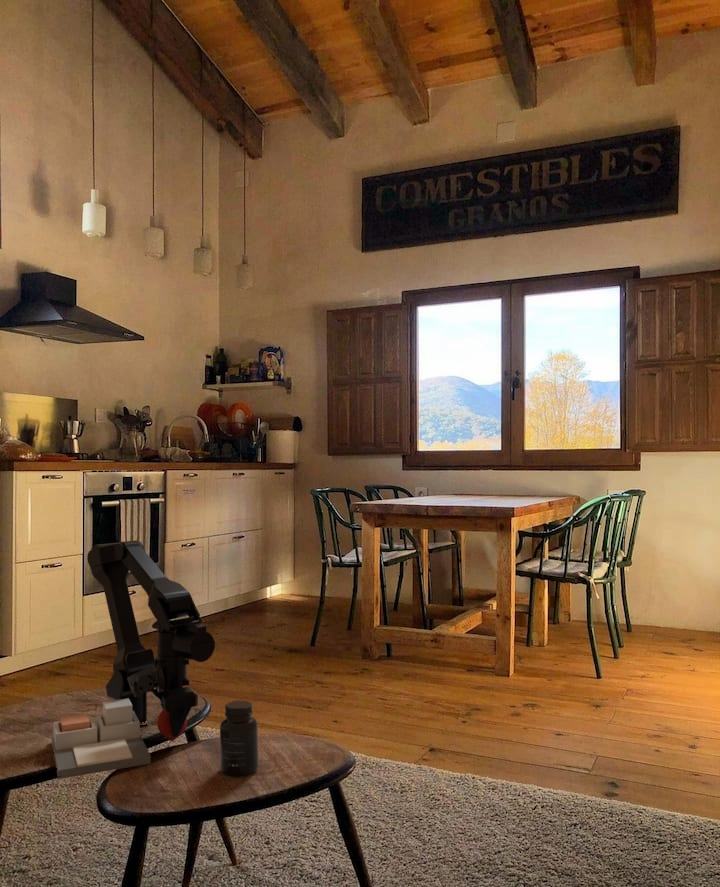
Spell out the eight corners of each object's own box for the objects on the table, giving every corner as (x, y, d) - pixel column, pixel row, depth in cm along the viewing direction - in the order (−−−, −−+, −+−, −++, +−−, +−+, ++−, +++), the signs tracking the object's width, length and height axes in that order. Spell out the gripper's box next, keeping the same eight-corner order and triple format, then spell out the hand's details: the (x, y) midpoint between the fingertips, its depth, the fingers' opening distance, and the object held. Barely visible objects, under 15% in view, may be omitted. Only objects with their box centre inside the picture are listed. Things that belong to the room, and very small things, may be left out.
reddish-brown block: (87, 733, 156) (87, 713, 156) (89, 742, 152) (89, 721, 152) (60, 737, 154) (60, 717, 154) (62, 746, 149) (62, 725, 149)
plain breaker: (128, 717, 159) (128, 698, 159) (132, 725, 155) (132, 705, 155) (102, 721, 157) (102, 701, 157) (106, 729, 153) (106, 708, 153)
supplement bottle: (227, 761, 146) (227, 697, 146) (262, 764, 145) (262, 699, 145) (214, 777, 139) (214, 709, 139) (251, 779, 138) (251, 711, 138)
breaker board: (134, 730, 162) (134, 708, 162) (150, 763, 145) (150, 739, 145) (51, 742, 156) (51, 720, 156) (58, 778, 138) (58, 753, 138)
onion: (185, 734, 160) (185, 694, 160) (188, 743, 155) (188, 703, 155) (156, 737, 158) (156, 697, 159) (158, 747, 153) (158, 706, 153)
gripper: (123, 647, 162) (123, 722, 162) (138, 669, 145) (138, 754, 145) (177, 641, 167) (177, 715, 166) (198, 662, 150) (198, 744, 149)
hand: (172, 731), depth 157 cm, fingers closed on onion, 6 cm apart
